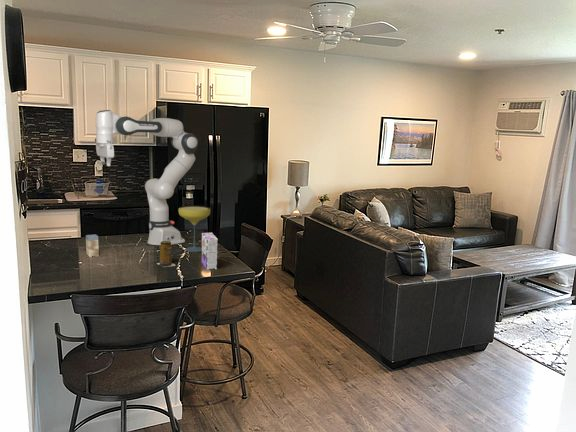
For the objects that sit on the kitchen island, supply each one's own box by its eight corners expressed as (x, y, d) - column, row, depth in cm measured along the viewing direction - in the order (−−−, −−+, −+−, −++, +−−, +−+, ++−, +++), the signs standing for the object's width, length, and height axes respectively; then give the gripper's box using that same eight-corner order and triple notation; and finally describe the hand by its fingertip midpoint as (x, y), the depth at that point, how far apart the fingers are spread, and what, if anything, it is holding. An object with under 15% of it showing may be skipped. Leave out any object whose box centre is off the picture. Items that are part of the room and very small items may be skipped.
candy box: (201, 262, 243) (201, 232, 240) (212, 261, 245) (212, 232, 242) (206, 270, 230) (206, 238, 227) (217, 269, 232) (218, 238, 229)
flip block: (96, 253, 251) (95, 234, 249) (98, 256, 247) (98, 236, 245) (86, 255, 247) (85, 235, 245) (89, 257, 244) (88, 237, 242)
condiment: (169, 261, 242) (169, 239, 240) (176, 265, 236) (176, 243, 234) (156, 263, 238) (155, 241, 235) (163, 267, 231) (162, 244, 229)
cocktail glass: (212, 252, 263) (213, 210, 259) (181, 254, 256) (181, 210, 252) (206, 245, 280) (206, 205, 275) (176, 246, 273) (176, 205, 268)
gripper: (116, 140, 244) (117, 166, 247) (105, 139, 260) (106, 163, 263) (104, 140, 240) (105, 166, 243) (93, 139, 256) (94, 163, 259)
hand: (105, 165), depth 253 cm, fingers open, 8 cm apart
